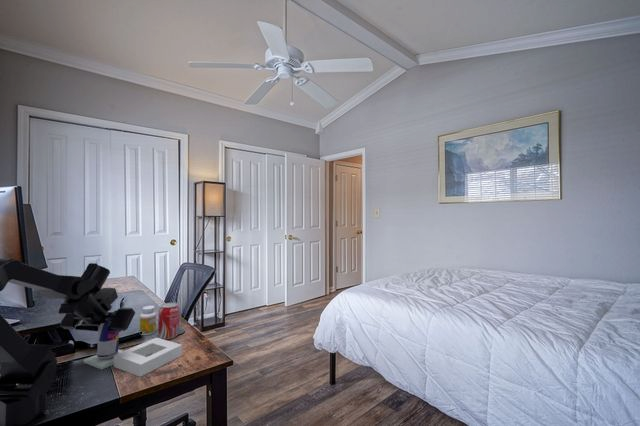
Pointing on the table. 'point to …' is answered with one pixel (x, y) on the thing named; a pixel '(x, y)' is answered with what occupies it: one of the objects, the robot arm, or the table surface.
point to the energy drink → (107, 342)
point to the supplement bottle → (148, 320)
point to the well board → (140, 364)
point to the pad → (100, 361)
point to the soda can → (168, 321)
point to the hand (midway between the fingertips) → (111, 330)
